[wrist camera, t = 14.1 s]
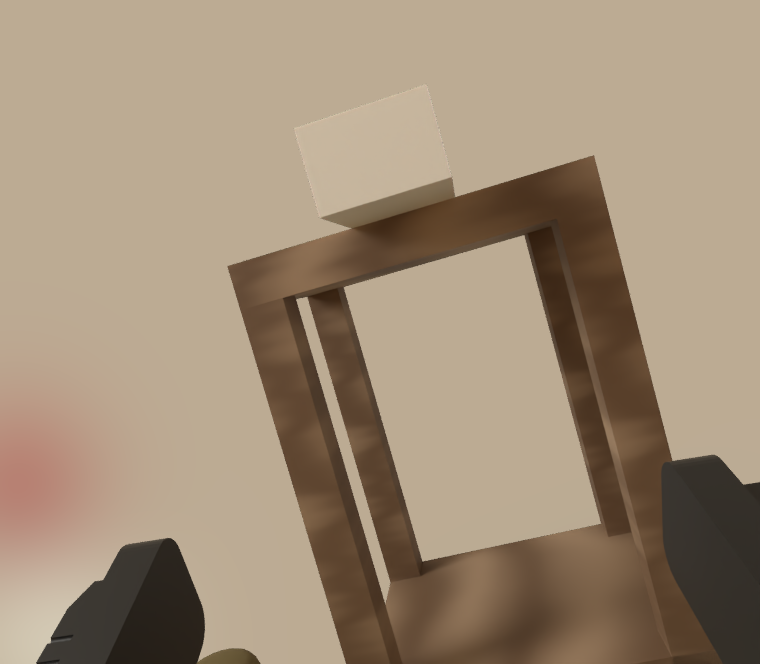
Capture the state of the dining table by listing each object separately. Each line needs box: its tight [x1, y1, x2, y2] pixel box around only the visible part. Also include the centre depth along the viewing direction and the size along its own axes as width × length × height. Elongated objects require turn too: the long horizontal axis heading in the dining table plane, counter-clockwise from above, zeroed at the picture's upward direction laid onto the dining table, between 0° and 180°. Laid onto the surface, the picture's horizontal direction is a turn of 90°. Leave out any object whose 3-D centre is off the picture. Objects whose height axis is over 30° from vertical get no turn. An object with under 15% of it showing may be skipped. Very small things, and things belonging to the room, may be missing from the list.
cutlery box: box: [294, 84, 455, 228], centre depth 33 cm, size 4×26×3 cm, turn 172°
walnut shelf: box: [228, 156, 723, 664], centre depth 34 cm, size 16×14×32 cm
